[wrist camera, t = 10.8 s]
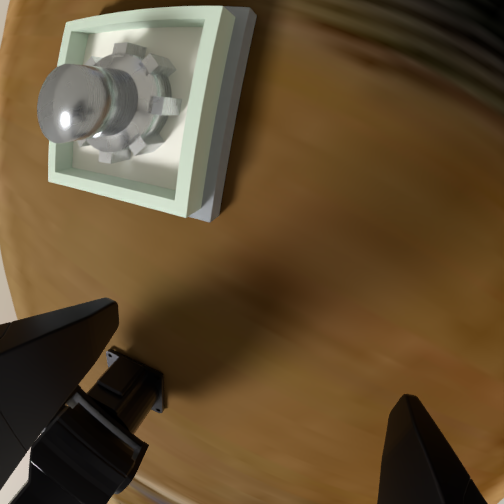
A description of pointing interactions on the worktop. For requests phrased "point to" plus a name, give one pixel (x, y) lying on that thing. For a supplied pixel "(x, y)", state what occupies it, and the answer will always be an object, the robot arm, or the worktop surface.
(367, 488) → the worktop surface
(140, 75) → the gear
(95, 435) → the robot arm
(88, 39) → the square tray
